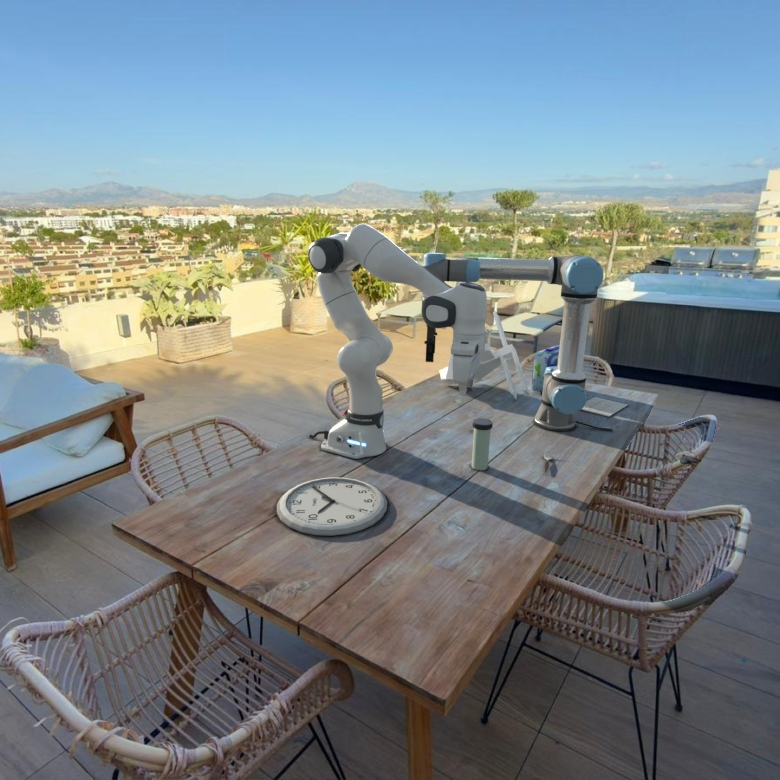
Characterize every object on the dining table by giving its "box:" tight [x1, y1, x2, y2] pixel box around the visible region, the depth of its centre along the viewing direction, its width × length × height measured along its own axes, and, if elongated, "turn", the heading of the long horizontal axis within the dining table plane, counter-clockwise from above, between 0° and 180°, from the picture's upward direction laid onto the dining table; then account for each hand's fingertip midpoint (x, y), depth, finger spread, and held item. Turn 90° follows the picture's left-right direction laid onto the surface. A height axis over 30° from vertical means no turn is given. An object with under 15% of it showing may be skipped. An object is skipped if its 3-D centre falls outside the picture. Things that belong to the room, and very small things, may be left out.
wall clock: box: [276, 476, 388, 537], centre depth 142 cm, size 30×2×30 cm
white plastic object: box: [438, 310, 531, 400], centre depth 245 cm, size 37×45×31 cm
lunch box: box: [531, 344, 560, 393], centre depth 245 cm, size 26×11×21 cm, turn 134°
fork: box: [543, 448, 554, 473], centre depth 170 cm, size 3×16×2 cm, turn 160°
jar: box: [470, 427, 491, 471], centre depth 165 cm, size 5×5×15 cm
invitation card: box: [580, 396, 629, 418], centre depth 226 cm, size 21×1×15 cm
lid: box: [472, 417, 493, 431], centre depth 163 cm, size 6×6×2 cm
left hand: (466, 390), depth 148 cm, fingers open, 8 cm apart
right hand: (430, 357), depth 190 cm, fingers open, 13 cm apart
